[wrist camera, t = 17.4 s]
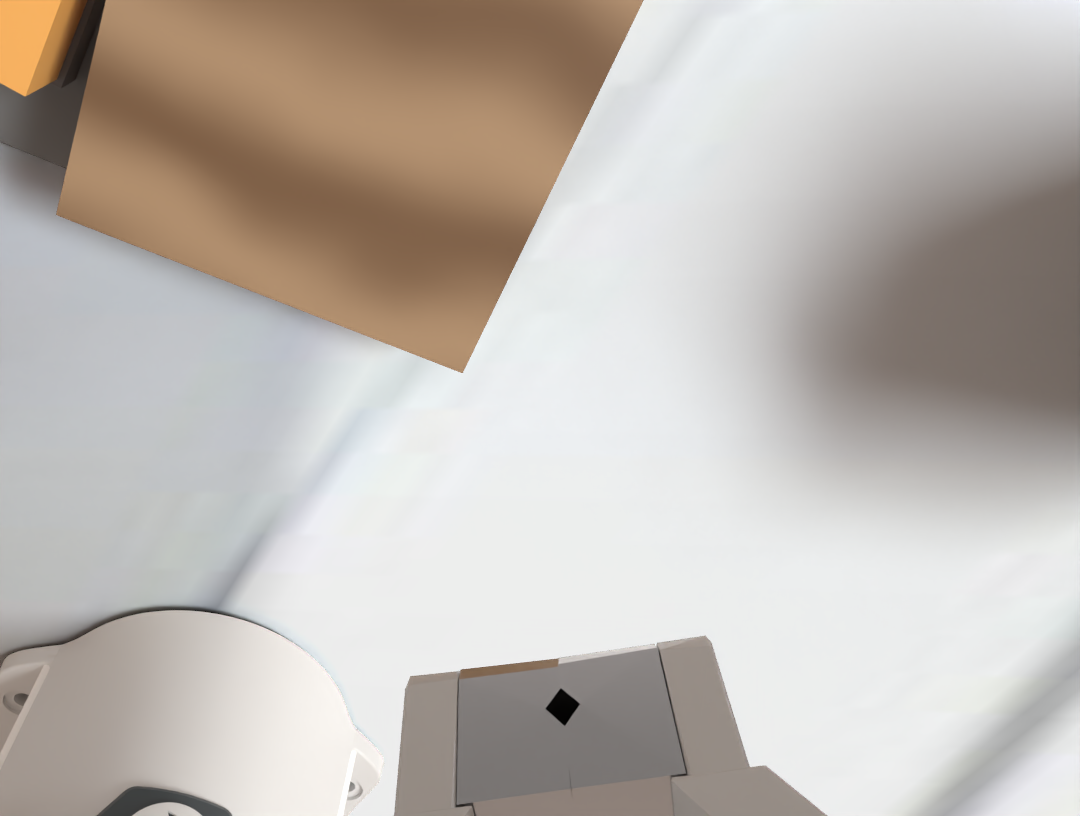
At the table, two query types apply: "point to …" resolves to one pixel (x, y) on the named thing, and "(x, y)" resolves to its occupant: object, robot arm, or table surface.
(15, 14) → the eraser orange
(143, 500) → the table surface
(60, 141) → the mat
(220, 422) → the table surface
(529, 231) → the riser
